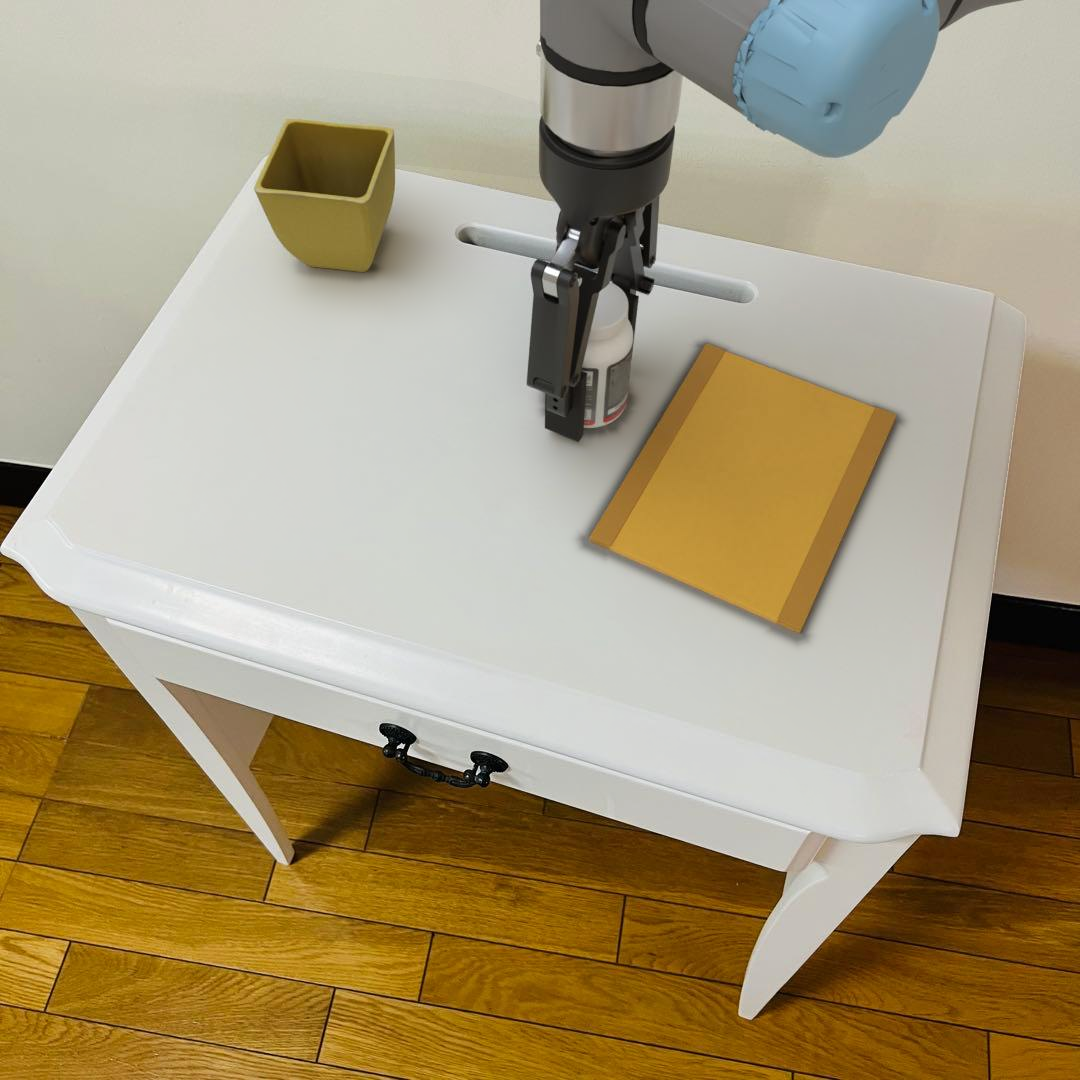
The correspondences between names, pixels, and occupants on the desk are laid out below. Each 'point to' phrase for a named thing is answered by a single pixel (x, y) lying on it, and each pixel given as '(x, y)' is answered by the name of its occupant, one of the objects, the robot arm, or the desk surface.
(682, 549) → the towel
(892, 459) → the desk surface
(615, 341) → the pill bottle
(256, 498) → the desk surface
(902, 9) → the robot arm
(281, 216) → the flower pot
